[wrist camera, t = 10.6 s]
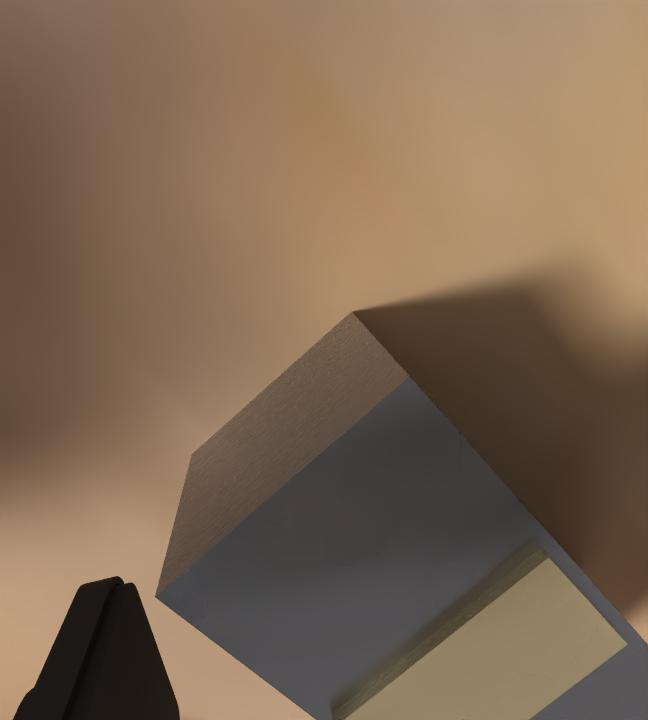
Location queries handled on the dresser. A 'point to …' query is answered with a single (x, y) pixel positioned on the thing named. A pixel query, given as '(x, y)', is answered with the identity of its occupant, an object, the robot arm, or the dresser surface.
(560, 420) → the dresser surface
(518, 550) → the grey rectangular block
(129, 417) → the dresser surface
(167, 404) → the dresser surface
